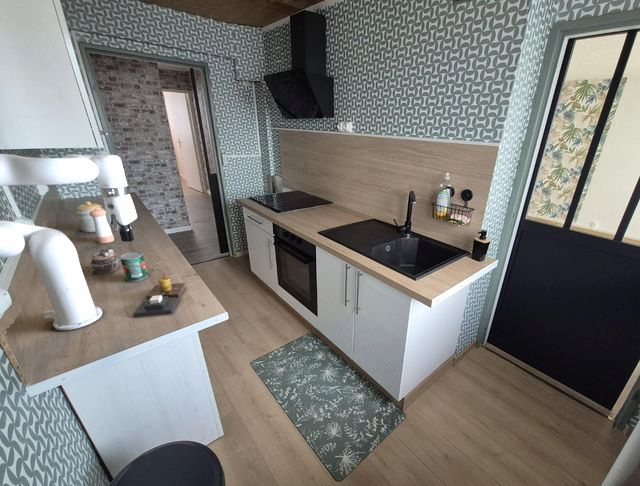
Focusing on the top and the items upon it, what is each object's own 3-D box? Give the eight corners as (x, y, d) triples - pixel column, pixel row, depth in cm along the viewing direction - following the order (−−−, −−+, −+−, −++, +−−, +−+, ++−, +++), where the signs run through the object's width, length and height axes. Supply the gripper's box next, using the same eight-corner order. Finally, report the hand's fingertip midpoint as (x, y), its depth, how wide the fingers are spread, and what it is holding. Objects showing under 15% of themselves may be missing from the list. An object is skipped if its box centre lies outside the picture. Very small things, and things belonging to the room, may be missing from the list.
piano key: (150, 304, 108) (149, 300, 108) (153, 299, 111) (152, 295, 110) (159, 303, 109) (158, 299, 108) (162, 299, 112) (161, 295, 111)
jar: (97, 224, 189) (89, 198, 182) (115, 226, 187) (107, 199, 181) (75, 231, 177) (66, 203, 170) (94, 233, 175) (85, 205, 169)
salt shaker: (113, 242, 165) (104, 209, 158) (97, 244, 162) (86, 210, 154) (115, 237, 171) (106, 206, 164) (98, 239, 167) (88, 207, 160)
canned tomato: (122, 279, 129) (115, 256, 125) (140, 272, 136) (134, 250, 132) (133, 283, 126) (127, 260, 122) (152, 275, 133) (146, 253, 129)
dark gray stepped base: (134, 317, 106) (132, 309, 104) (145, 303, 114) (143, 295, 112) (172, 313, 109) (170, 305, 107) (179, 300, 117) (178, 293, 115)
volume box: (147, 301, 115) (146, 296, 114) (156, 290, 123) (155, 284, 122) (179, 299, 117) (177, 293, 116) (185, 287, 125) (184, 282, 124)
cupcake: (98, 266, 138) (92, 247, 135) (123, 264, 142) (118, 245, 138) (89, 275, 130) (82, 255, 126) (116, 273, 134) (110, 253, 130)
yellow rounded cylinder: (171, 290, 118) (169, 279, 116) (160, 292, 117) (157, 281, 115) (172, 286, 122) (169, 274, 120) (160, 288, 120) (158, 276, 118)
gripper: (116, 196, 95) (129, 248, 102) (137, 187, 109) (148, 233, 116) (89, 196, 94) (104, 249, 100) (114, 187, 107) (126, 234, 114)
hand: (128, 240), depth 108 cm, fingers closed
